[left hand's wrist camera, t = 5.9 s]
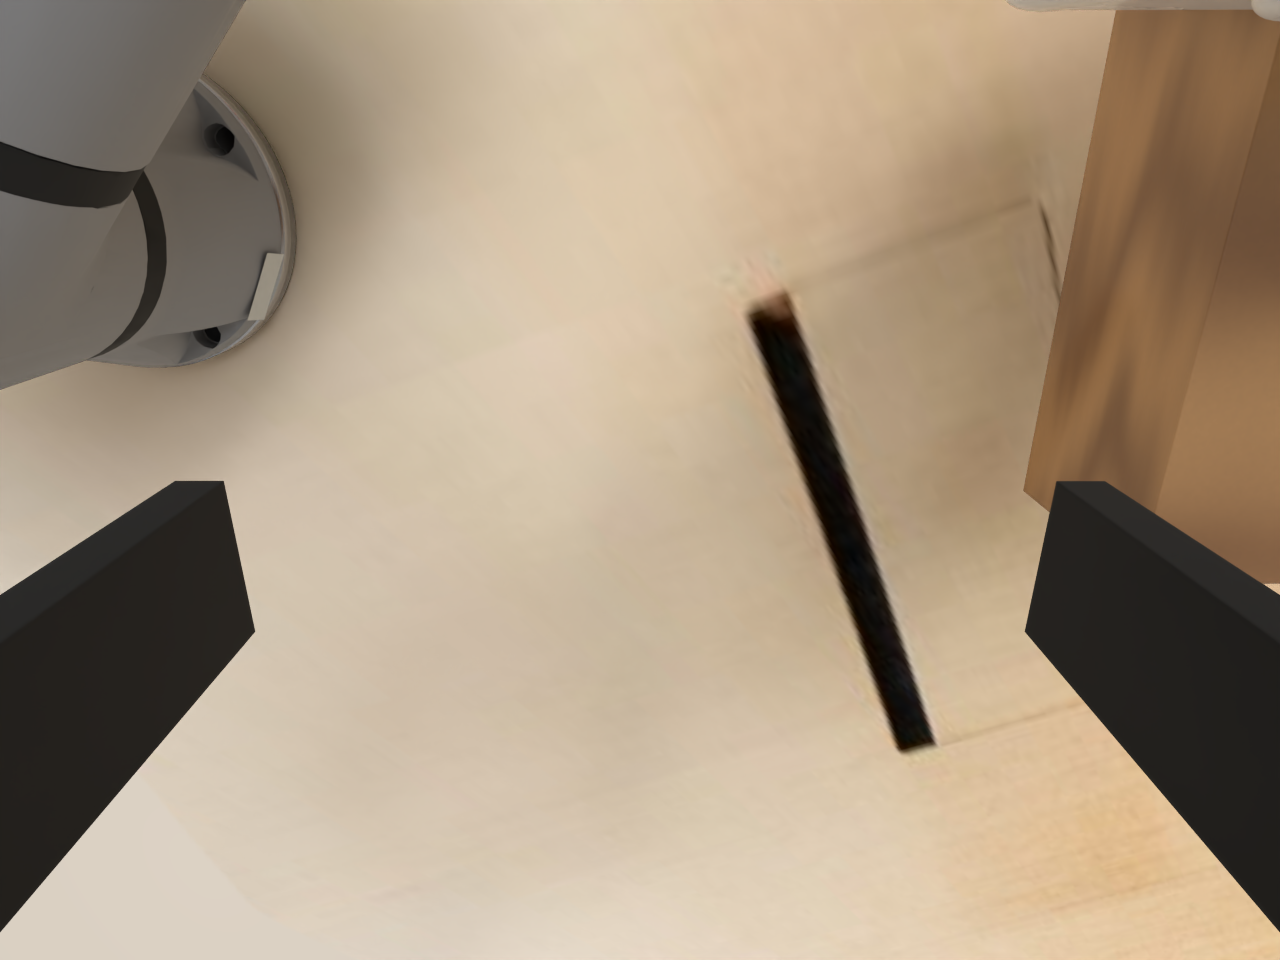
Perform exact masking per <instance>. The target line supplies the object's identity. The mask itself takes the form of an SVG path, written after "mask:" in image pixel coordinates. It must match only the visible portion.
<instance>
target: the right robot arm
mask: <svg viewBox="0 0 1280 960" xmlns="http://www.w3.org/2000/svg"><path fill="white" fill-rule="evenodd" d="M1006 2H1007V3H1008V4H1009V5H1011V6H1013V7H1015V8H1017V9H1020V10H1024V11H1029V12H1048V11H1062V10H1253V11H1254V12H1255V13H1256V14H1257V15H1258V16H1260V17H1262V18H1264V19H1267V20H1272V21H1280V0H1006Z"/></svg>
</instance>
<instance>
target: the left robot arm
mask: <svg viewBox="0 0 1280 960" xmlns="http://www.w3.org/2000/svg"><path fill="white" fill-rule="evenodd" d="M245 1H246V0H0V390H1V389H4V388H7V387H9V386H12V385H15V384H18V383H21V382H24V381H27V380H30V379H33V378H36V377H39V376H42V375H45V374H47V373H50V372H53V371H56V370H59V369H62V368H65V367H68V366H71V365H74V364H76V363H79V362H83V361H85V360H89V361H97V362H105V363H113V364H121V365H129V366H137V367H176V366H183V365H188V364H193V363H196V362H200V361H203V360H206V359H209V358H211V357H213V356H216V355H218V354H220V353H223V352H225V351H227V350H230V349H232V348H234V347H236V346H237V345H239V344H241V343H243V342H244V341H246V340H247V339H248V338H250V337H251V336H252V335H254V334H255V333H256V332H257V331H258V330H259V329H260V328H261V327H262V326H263V325H264V324H265V323H266V322H267V321H268V319H269V318H270V317H271V316H272V314H273V313H274V311H275V310H276V308H277V307H278V305H279V304H280V302H281V300H282V298H283V296H284V294H285V292H286V289H287V286H288V284H289V281H290V277H291V274H292V270H293V265H294V259H295V250H296V225H295V216H294V209H293V204H292V200H291V195H290V191H289V188H288V185H287V182H286V179H285V176H284V174H283V171H282V169H281V167H280V164H279V162H278V160H277V158H276V156H275V154H274V152H273V150H272V148H271V146H270V144H269V143H268V141H267V140H266V138H265V137H264V135H263V133H262V132H261V130H260V129H259V128H258V126H257V125H256V124H255V122H254V121H253V120H252V118H251V117H250V116H249V115H248V114H247V112H246V111H245V110H244V109H243V108H242V107H241V106H240V105H239V103H238V102H237V101H236V100H234V99H233V98H232V97H231V96H230V95H229V94H228V93H227V92H226V91H225V90H224V89H223V88H221V87H220V86H219V85H218V84H216V83H215V82H214V81H213V80H211V79H210V78H209V77H207V76H206V75H204V74H203V72H204V70H205V68H206V67H207V65H208V63H209V62H210V60H211V58H212V57H213V55H214V53H215V51H216V50H217V48H218V46H219V45H220V43H221V41H222V40H223V38H224V36H225V35H226V33H227V31H228V29H229V28H230V26H231V24H232V23H233V21H234V19H235V18H236V16H237V14H238V13H239V11H240V9H241V7H242V6H243V4H244V2H245ZM254 632H255V629H254V624H253V619H252V614H251V610H250V605H249V600H248V595H247V590H246V586H245V581H244V576H243V571H242V566H241V562H240V557H239V552H238V547H237V543H236V538H235V533H234V528H233V523H232V519H231V514H230V509H229V504H228V499H227V495H226V490H225V485H224V481H174V482H173V483H171V484H170V485H168V486H167V487H165V488H164V489H162V490H161V491H159V492H158V493H156V494H154V495H153V496H151V497H150V498H148V499H147V500H145V501H144V502H142V503H141V504H139V505H138V506H136V507H135V508H133V509H131V510H130V511H128V512H127V513H125V514H124V515H122V516H121V517H119V518H118V519H116V520H115V521H113V522H112V523H110V524H108V525H107V526H105V527H104V528H102V529H101V530H99V531H98V532H96V533H95V534H93V535H92V536H90V537H88V538H87V539H85V540H84V541H82V542H81V543H79V544H78V545H76V546H75V547H73V548H72V549H70V550H69V551H67V552H65V553H64V554H62V555H61V556H59V557H58V558H56V559H55V560H53V561H52V562H50V563H49V564H47V565H46V566H44V567H42V568H41V569H39V570H38V571H36V572H35V573H33V574H32V575H30V576H29V577H27V578H26V579H24V580H23V581H21V582H19V583H18V584H16V585H15V586H13V587H12V588H10V589H9V590H7V591H6V592H4V593H3V594H1V595H0V932H1V931H2V929H3V928H4V927H5V926H6V925H7V924H8V922H9V921H10V920H11V919H12V918H13V916H14V915H15V914H16V913H17V912H18V911H19V909H20V908H21V907H22V906H23V905H24V904H25V902H26V901H27V900H28V899H29V898H30V896H31V895H32V894H33V893H34V892H35V891H36V889H37V888H38V887H39V886H40V885H41V883H42V882H43V881H44V880H45V879H46V877H47V876H48V875H49V874H50V873H51V872H52V871H53V869H54V868H55V867H56V866H57V865H58V863H59V862H60V861H61V860H62V859H63V857H64V856H65V855H66V854H67V853H68V852H69V850H70V849H71V848H72V847H73V846H74V845H75V843H76V842H77V841H78V840H79V839H80V838H81V836H82V835H83V834H84V833H85V832H86V830H87V829H88V828H89V827H90V826H91V825H92V823H93V822H94V821H95V820H96V819H97V817H98V816H99V815H100V814H101V813H102V812H103V810H104V809H105V808H106V807H107V806H108V805H109V803H110V802H111V801H112V800H113V799H114V797H115V796H116V795H117V794H118V793H119V792H120V790H121V789H122V788H123V787H124V786H125V784H126V783H127V782H128V781H129V780H130V779H131V777H132V776H133V775H134V774H135V773H136V771H137V770H138V769H139V768H140V767H141V766H142V764H143V763H144V762H145V761H146V760H147V759H148V757H149V756H150V755H151V754H152V753H153V751H154V750H155V749H156V748H157V747H158V746H159V744H160V743H161V742H162V741H163V740H164V738H165V737H166V736H167V735H168V734H169V733H170V731H171V730H172V729H173V728H174V727H175V726H176V724H177V723H178V722H179V721H180V720H181V718H182V717H183V716H184V715H185V714H186V713H187V711H188V710H189V709H190V708H191V707H192V705H193V704H194V703H195V702H196V701H197V700H198V698H199V697H200V696H201V695H202V694H203V693H204V691H205V690H206V689H207V688H208V687H209V685H210V684H211V683H212V682H213V681H214V680H215V678H216V677H217V676H218V675H219V674H220V672H221V671H222V670H223V669H224V668H225V667H226V665H227V664H228V663H229V662H230V661H231V660H232V658H233V657H234V656H235V655H236V654H237V652H238V651H239V650H240V649H241V648H242V647H243V645H244V644H245V643H246V642H247V641H248V639H249V638H250V637H251V636H252V635H253V634H254ZM1025 632H1026V634H1027V635H1028V636H1029V637H1030V638H1031V639H1032V641H1033V642H1034V643H1035V644H1036V645H1037V647H1038V648H1039V649H1040V650H1041V651H1042V652H1043V654H1044V655H1045V656H1046V657H1047V658H1048V660H1049V661H1050V662H1051V663H1052V664H1053V665H1054V667H1055V668H1056V669H1057V670H1058V671H1059V672H1060V674H1061V675H1062V676H1063V677H1064V678H1065V680H1066V681H1067V682H1068V683H1069V684H1070V685H1071V687H1072V688H1073V689H1074V690H1075V691H1076V693H1077V694H1078V695H1079V696H1080V697H1081V698H1082V700H1083V701H1084V702H1085V703H1086V704H1087V705H1088V707H1089V708H1090V709H1091V710H1092V711H1093V713H1094V714H1095V715H1096V716H1097V717H1098V718H1099V720H1100V721H1101V722H1102V723H1103V724H1104V726H1105V727H1106V728H1107V729H1108V730H1109V731H1110V733H1111V734H1112V735H1113V736H1114V737H1115V738H1116V740H1117V741H1118V742H1119V743H1120V744H1121V746H1122V747H1123V748H1124V749H1125V750H1126V751H1127V753H1128V754H1129V755H1130V756H1131V757H1132V759H1133V760H1134V761H1135V762H1136V763H1137V764H1138V766H1139V767H1140V768H1141V769H1142V770H1143V772H1144V773H1145V774H1146V775H1147V776H1148V777H1149V779H1150V780H1151V781H1152V782H1153V783H1154V784H1155V786H1156V787H1157V788H1158V789H1159V790H1160V792H1161V793H1162V794H1163V795H1164V796H1165V797H1166V799H1167V800H1168V801H1169V802H1170V803H1171V805H1172V806H1173V807H1174V808H1175V809H1176V810H1177V812H1178V813H1179V814H1180V815H1181V816H1182V817H1183V819H1184V820H1185V821H1186V822H1187V823H1188V825H1189V826H1190V827H1191V828H1192V829H1193V830H1194V832H1195V833H1196V834H1197V835H1198V836H1199V838H1200V839H1201V840H1202V841H1203V842H1204V843H1205V845H1206V846H1207V847H1208V848H1209V849H1210V850H1211V852H1212V853H1213V854H1214V855H1215V856H1216V858H1217V859H1218V860H1219V861H1220V862H1221V863H1222V865H1223V866H1224V867H1225V868H1226V869H1227V871H1228V872H1229V873H1230V874H1231V875H1232V876H1233V878H1234V879H1235V880H1236V881H1237V882H1238V883H1239V885H1240V886H1241V887H1242V888H1243V889H1244V891H1245V892H1246V893H1247V894H1248V895H1249V896H1250V898H1251V899H1252V900H1253V901H1254V902H1255V904H1256V905H1257V906H1258V907H1259V908H1260V909H1261V911H1262V912H1263V913H1264V914H1265V915H1266V916H1267V918H1268V919H1269V920H1270V921H1271V922H1272V924H1273V925H1274V926H1275V927H1276V928H1277V929H1278V931H1279V932H1280V595H1279V594H1277V593H1276V592H1274V591H1273V590H1271V589H1270V588H1268V587H1267V586H1265V585H1264V584H1262V583H1261V582H1259V581H1257V580H1256V579H1254V578H1253V577H1251V576H1250V575H1248V574H1247V573H1245V572H1244V571H1242V570H1241V569H1239V568H1238V567H1236V566H1234V565H1233V564H1231V563H1230V562H1228V561H1227V560H1225V559H1224V558H1222V557H1221V556H1219V555H1218V554H1216V553H1215V552H1213V551H1211V550H1210V549H1208V548H1207V547H1205V546H1204V545H1202V544H1201V543H1199V542H1198V541H1196V540H1195V539H1193V538H1191V537H1190V536H1188V535H1187V534H1185V533H1184V532H1182V531H1181V530H1179V529H1178V528H1176V527H1175V526H1173V525H1172V524H1170V523H1168V522H1167V521H1165V520H1164V519H1162V518H1161V517H1159V516H1158V515H1156V514H1155V513H1153V512H1152V511H1150V510H1149V509H1147V508H1145V507H1144V506H1142V505H1141V504H1139V503H1138V502H1136V501H1135V500H1133V499H1132V498H1130V497H1129V496H1127V495H1126V494H1124V493H1122V492H1121V491H1119V490H1118V489H1116V488H1115V487H1113V486H1112V485H1110V484H1109V483H1107V482H1106V481H1056V485H1055V490H1054V495H1053V499H1052V504H1051V509H1050V514H1049V519H1048V523H1047V528H1046V533H1045V538H1044V543H1043V547H1042V552H1041V557H1040V562H1039V566H1038V571H1037V576H1036V581H1035V586H1034V590H1033V595H1032V600H1031V605H1030V610H1029V614H1028V619H1027V624H1026V629H1025Z"/></svg>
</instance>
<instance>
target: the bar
mask: <svg viewBox="0 0 1280 960" xmlns="http://www.w3.org/2000/svg"><path fill="white" fill-rule="evenodd" d="M1056 481H1106V482H1107V483H1109V484H1110V485H1112V486H1113V487H1115V488H1116V489H1118V490H1119V491H1121V492H1122V493H1124V494H1126V495H1127V496H1129V497H1130V498H1132V499H1133V500H1135V501H1136V502H1138V503H1139V504H1141V505H1142V506H1144V507H1145V508H1147V509H1149V510H1150V511H1152V512H1153V513H1155V514H1156V515H1158V516H1159V517H1161V518H1162V519H1164V520H1165V521H1167V522H1168V523H1170V524H1172V525H1173V526H1175V527H1176V528H1178V529H1179V530H1181V531H1182V532H1184V533H1185V534H1187V535H1188V536H1190V537H1191V538H1193V539H1195V540H1196V541H1198V542H1199V543H1201V544H1202V545H1204V546H1205V547H1207V548H1208V549H1210V550H1211V551H1213V552H1215V553H1216V554H1218V555H1219V556H1221V557H1222V558H1224V559H1225V560H1227V561H1228V562H1230V563H1231V564H1233V565H1234V566H1236V567H1238V568H1239V569H1241V570H1242V571H1244V572H1245V573H1247V574H1248V575H1250V576H1251V577H1253V578H1254V579H1256V580H1257V581H1259V582H1261V583H1262V584H1280V21H1272V20H1267V19H1264V18H1262V17H1260V16H1258V15H1257V14H1256V13H1255V12H1254V11H1253V10H1116V13H1115V18H1114V24H1113V29H1112V34H1111V39H1110V44H1109V49H1108V55H1107V60H1106V65H1105V70H1104V75H1103V81H1102V86H1101V91H1100V96H1099V101H1098V106H1097V112H1096V117H1095V122H1094V127H1093V132H1092V138H1091V143H1090V148H1089V153H1088V158H1087V164H1086V169H1085V174H1084V179H1083V184H1082V189H1081V195H1080V200H1079V205H1078V210H1077V215H1076V221H1075V226H1074V231H1073V236H1072V241H1071V246H1070V252H1069V257H1068V262H1067V267H1066V272H1065V278H1064V283H1063V288H1062V293H1061V298H1060V304H1059V309H1058V314H1057V319H1056V324H1055V329H1054V335H1053V340H1052V345H1051V350H1050V355H1049V361H1048V366H1047V371H1046V376H1045V381H1044V386H1043V392H1042V397H1041V402H1040V407H1039V412H1038V418H1037V423H1036V428H1035V433H1034V438H1033V444H1032V449H1031V454H1030V459H1029V464H1028V469H1027V475H1026V480H1025V485H1024V492H1026V493H1027V494H1028V495H1029V496H1030V497H1032V498H1033V499H1034V500H1035V501H1036V502H1038V503H1039V504H1040V505H1041V506H1043V507H1044V508H1045V509H1046V510H1047V511H1049V512H1050V509H1051V504H1052V499H1053V495H1054V490H1055V485H1056Z"/></svg>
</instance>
